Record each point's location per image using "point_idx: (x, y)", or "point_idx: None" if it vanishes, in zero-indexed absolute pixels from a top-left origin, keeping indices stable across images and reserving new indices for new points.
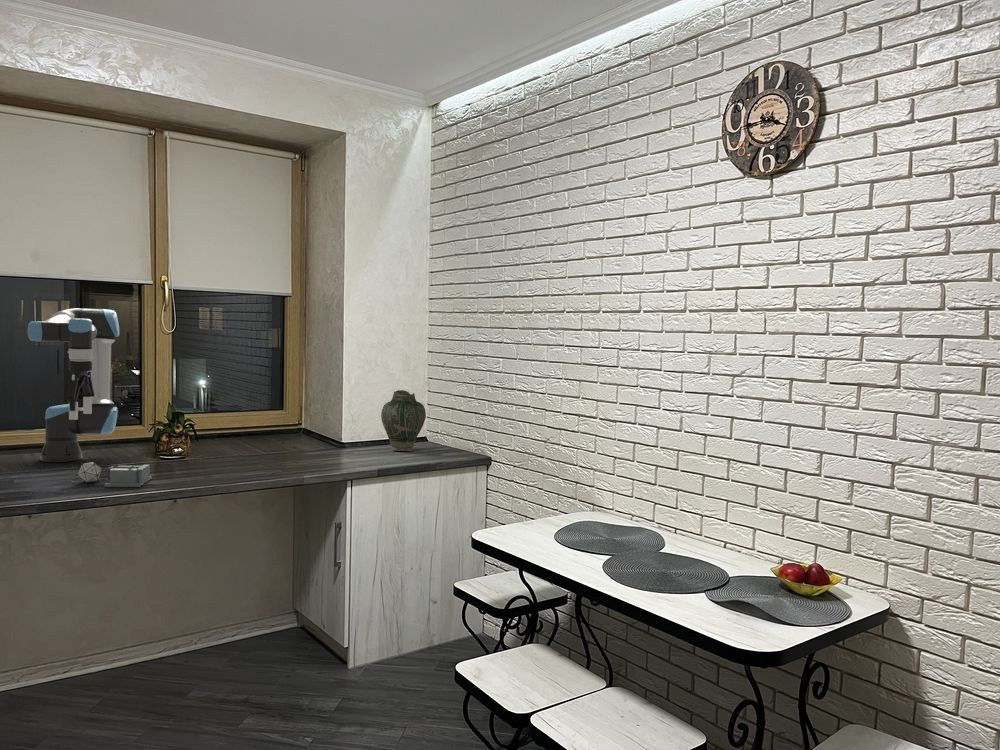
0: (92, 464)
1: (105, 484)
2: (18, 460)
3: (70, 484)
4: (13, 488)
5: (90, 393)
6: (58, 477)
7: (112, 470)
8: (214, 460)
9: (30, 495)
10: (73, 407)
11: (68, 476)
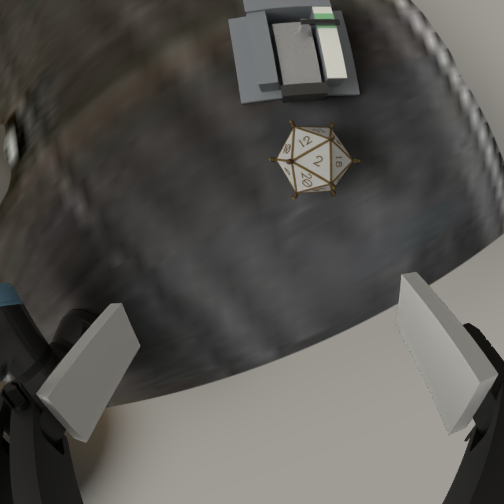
0: (332, 145)
1: (358, 92)
2: (131, 391)
3: (341, 198)
4: (385, 302)
5: (30, 428)
6: (256, 270)
7: (344, 71)
8: (27, 45)
9: (450, 233)
10: (488, 344)
11: (239, 253)
